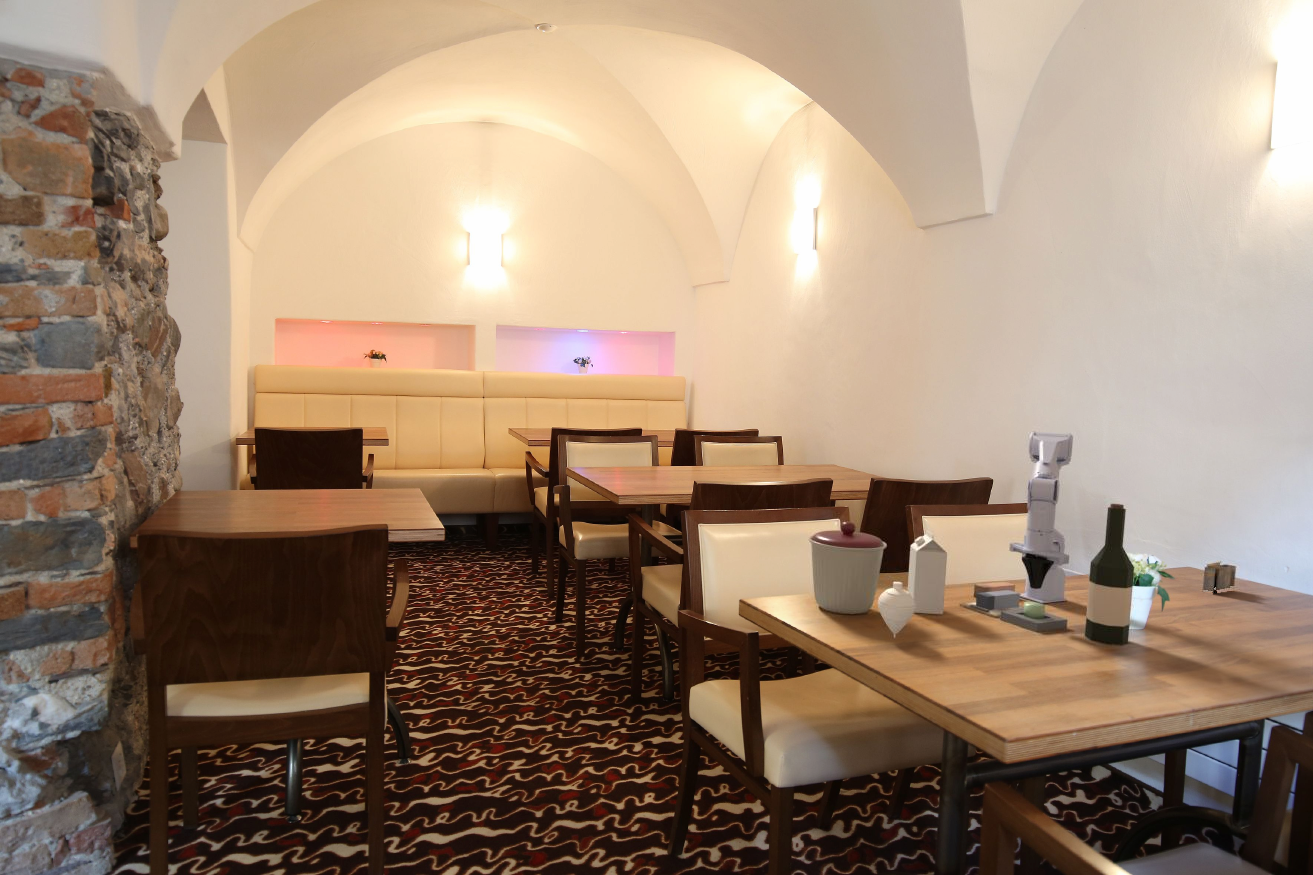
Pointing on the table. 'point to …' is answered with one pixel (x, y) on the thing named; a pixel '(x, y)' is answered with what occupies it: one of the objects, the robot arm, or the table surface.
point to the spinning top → (896, 607)
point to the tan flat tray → (991, 613)
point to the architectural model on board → (1218, 576)
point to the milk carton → (927, 575)
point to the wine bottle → (1110, 585)
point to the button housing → (1033, 621)
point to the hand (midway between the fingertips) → (1035, 588)
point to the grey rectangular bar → (998, 599)
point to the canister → (846, 569)
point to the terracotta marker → (993, 587)
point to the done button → (1034, 610)
